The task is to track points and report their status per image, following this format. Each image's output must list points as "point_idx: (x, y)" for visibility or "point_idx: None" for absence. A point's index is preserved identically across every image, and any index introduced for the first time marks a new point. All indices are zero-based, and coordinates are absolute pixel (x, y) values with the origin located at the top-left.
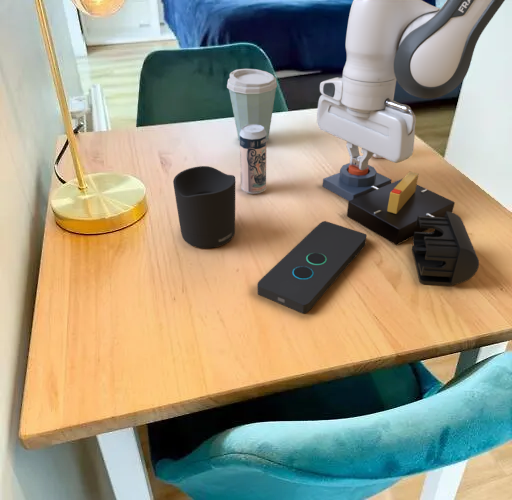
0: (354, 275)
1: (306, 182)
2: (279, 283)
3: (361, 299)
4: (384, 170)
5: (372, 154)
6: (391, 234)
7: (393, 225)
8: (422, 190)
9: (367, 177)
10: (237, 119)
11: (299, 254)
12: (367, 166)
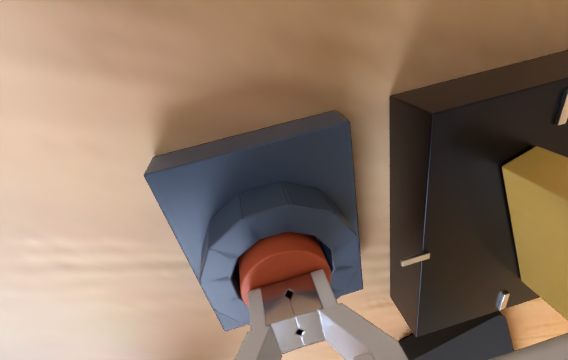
0: (517, 331)
1: (179, 332)
2: None
3: (550, 335)
4: (164, 18)
5: (384, 338)
6: None
7: None
8: (553, 107)
9: (355, 265)
10: None
11: None
12: (324, 272)
